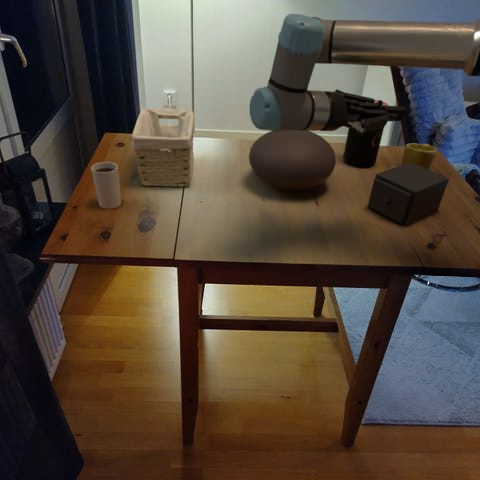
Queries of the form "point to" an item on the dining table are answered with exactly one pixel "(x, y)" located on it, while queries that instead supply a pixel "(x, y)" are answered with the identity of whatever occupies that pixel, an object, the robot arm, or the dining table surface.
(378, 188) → the drawer
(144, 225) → the dining table surface
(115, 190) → the white coffee cup
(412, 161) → the mug
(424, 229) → the dining table surface
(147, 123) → the basket
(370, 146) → the coffee jar
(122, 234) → the dining table surface
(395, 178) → the cabinet
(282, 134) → the flattened ellipsoid
